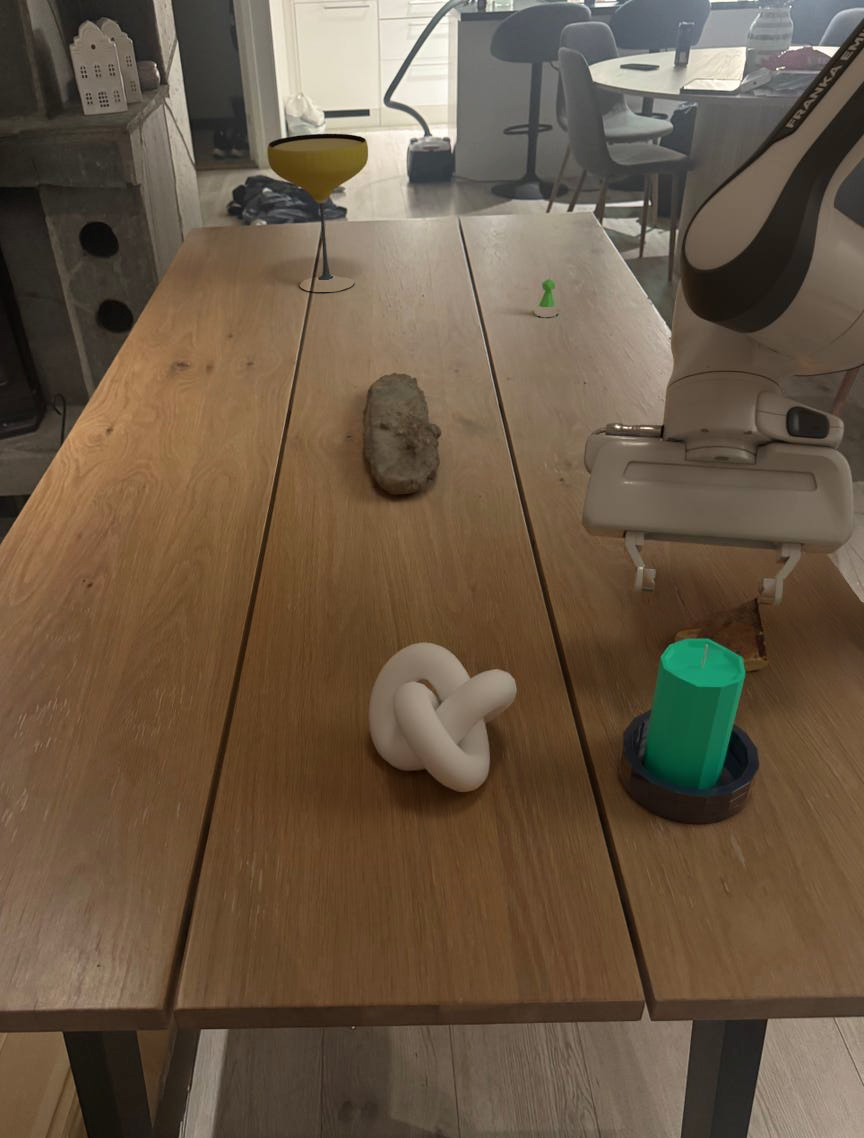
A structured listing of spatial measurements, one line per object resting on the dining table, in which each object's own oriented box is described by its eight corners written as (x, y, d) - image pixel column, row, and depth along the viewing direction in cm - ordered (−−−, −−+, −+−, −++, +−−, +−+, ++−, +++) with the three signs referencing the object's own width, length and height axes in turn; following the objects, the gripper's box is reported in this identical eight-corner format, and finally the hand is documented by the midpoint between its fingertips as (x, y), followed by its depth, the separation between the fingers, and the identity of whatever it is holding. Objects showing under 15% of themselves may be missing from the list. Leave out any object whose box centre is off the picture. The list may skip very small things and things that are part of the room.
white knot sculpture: (468, 691, 86) (471, 609, 80) (548, 773, 77) (557, 687, 72) (356, 734, 82) (350, 651, 76) (427, 826, 73) (426, 739, 68)
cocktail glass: (276, 276, 192) (262, 137, 178) (365, 268, 195) (358, 130, 180) (285, 303, 178) (271, 154, 163) (380, 294, 180) (375, 147, 165)
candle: (689, 805, 73) (717, 682, 65) (627, 763, 76) (646, 643, 69) (736, 768, 76) (767, 647, 68) (674, 730, 79) (697, 611, 72)
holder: (768, 763, 77) (776, 735, 76) (724, 844, 71) (732, 815, 69) (648, 717, 82) (653, 690, 80) (597, 789, 76) (601, 761, 74)
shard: (754, 609, 94) (757, 594, 93) (816, 649, 89) (821, 633, 88) (670, 643, 90) (673, 628, 89) (730, 687, 85) (733, 672, 84)
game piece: (529, 314, 168) (531, 279, 165) (545, 308, 171) (547, 273, 167) (548, 319, 166) (550, 284, 162) (564, 313, 168) (566, 278, 164)
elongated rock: (427, 396, 143) (361, 403, 144) (425, 361, 140) (358, 368, 141) (450, 495, 114) (367, 503, 114) (448, 454, 111) (363, 462, 111)
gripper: (589, 407, 76) (571, 577, 74) (866, 421, 72) (855, 602, 70) (586, 435, 82) (570, 594, 80) (842, 450, 78) (831, 617, 76)
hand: (705, 598), depth 75 cm, fingers open, 8 cm apart
